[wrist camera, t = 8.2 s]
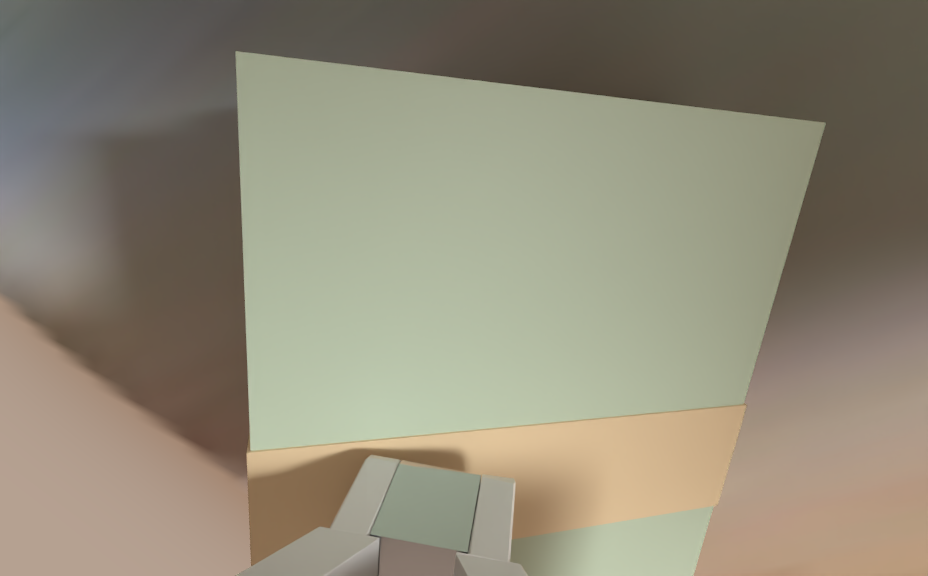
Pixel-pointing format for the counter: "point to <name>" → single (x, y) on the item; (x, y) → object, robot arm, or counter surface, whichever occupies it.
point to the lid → (506, 299)
